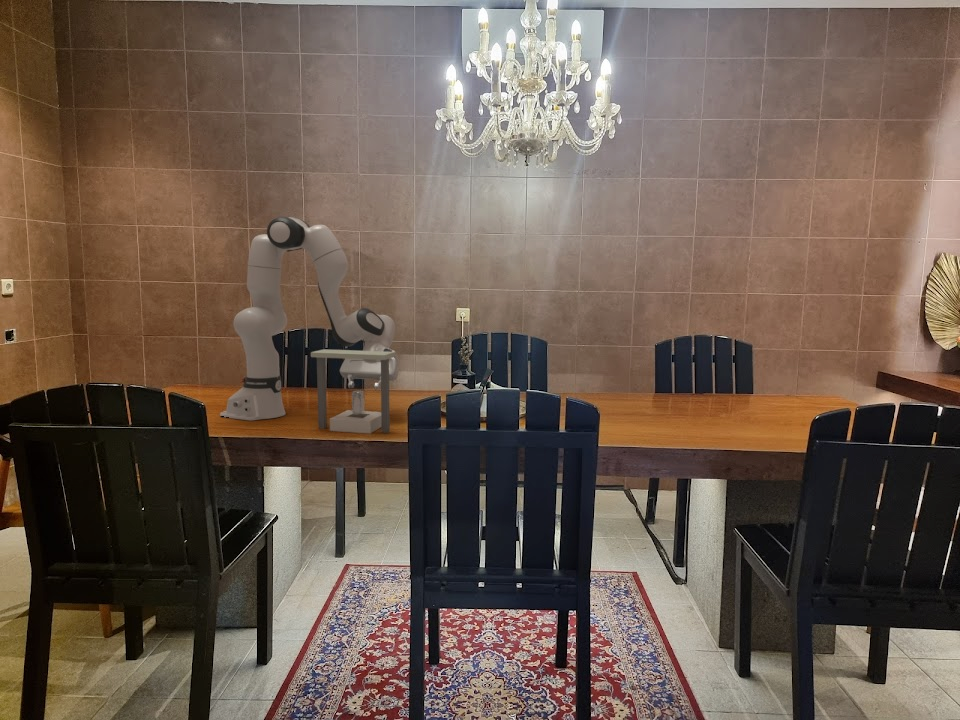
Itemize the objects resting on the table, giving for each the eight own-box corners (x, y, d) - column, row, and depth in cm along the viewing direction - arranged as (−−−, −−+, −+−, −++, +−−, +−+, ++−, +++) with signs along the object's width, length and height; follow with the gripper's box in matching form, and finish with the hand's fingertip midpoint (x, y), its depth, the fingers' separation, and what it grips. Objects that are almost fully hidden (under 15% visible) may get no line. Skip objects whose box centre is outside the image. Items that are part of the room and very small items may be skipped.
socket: (329, 430, 208) (329, 418, 207) (348, 421, 221) (347, 409, 221) (370, 433, 205) (370, 421, 204) (386, 423, 218) (386, 412, 218)
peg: (350, 428, 212) (349, 392, 210) (355, 425, 215) (354, 390, 214) (361, 429, 211) (361, 393, 209) (366, 426, 215) (366, 390, 213)
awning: (312, 430, 208) (310, 352, 205) (325, 424, 217) (323, 349, 213) (385, 435, 203) (384, 355, 199) (395, 428, 211) (394, 351, 208)
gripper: (344, 348, 224) (331, 380, 216) (399, 351, 220) (389, 384, 211) (349, 359, 229) (337, 391, 221) (403, 362, 224) (393, 395, 216)
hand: (363, 387), depth 216 cm, fingers open, 8 cm apart
